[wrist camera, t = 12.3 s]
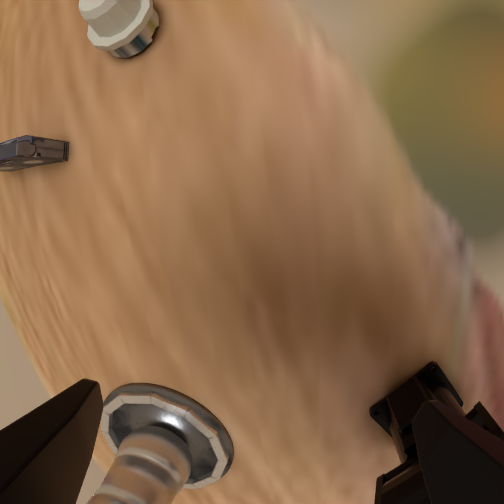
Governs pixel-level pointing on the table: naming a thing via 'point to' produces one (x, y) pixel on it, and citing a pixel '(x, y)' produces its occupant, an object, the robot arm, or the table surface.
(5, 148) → the mini dv tape
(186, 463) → the plastic bottle
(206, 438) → the pad
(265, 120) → the table surface
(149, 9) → the white handheld device
